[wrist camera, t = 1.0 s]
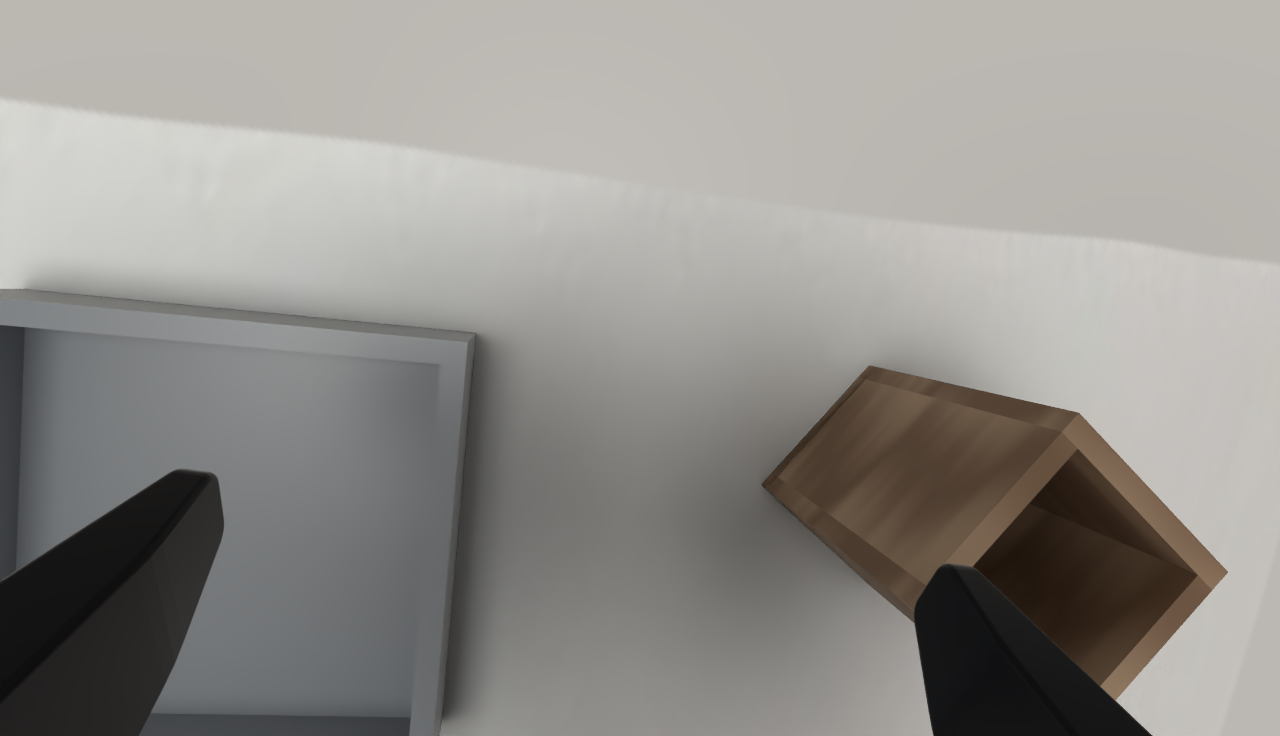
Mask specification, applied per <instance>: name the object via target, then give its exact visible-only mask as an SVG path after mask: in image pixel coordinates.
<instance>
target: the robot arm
mask: <svg viewBox="0 0 1280 736" xmlns="http://www.w3.org/2000/svg"><path fill="white" fill-rule="evenodd" d="M223 531H224V516H223V508H222V501H221V494H220V487H219V481H218V478H217V476H216V475H215V474H214V473H211V472H207V471H199V470H191V469H176V470H174V471H171V472H169V473H168V474H166V475H165V476H163V477H162V478H160V479H158V480H157V481H155V482H154V483H152V484H151V485H149V486H148V487H146V488H144V489H143V490H141V491H140V492H138V493H137V494H135V495H134V496H132V497H130V498H129V499H127V500H126V501H124V502H123V503H121V504H120V505H118V506H116V507H115V508H113V509H112V510H110V511H109V512H107V513H106V514H104V515H102V516H101V517H99V518H98V519H96V520H95V521H93V522H92V523H90V524H88V525H87V526H85V527H84V528H82V529H81V530H79V531H78V532H76V533H74V534H73V535H71V536H70V537H68V538H67V539H65V540H64V541H62V542H60V543H59V544H57V545H56V546H54V547H53V548H51V549H50V550H48V551H46V552H45V553H43V554H42V555H40V556H39V557H37V558H36V559H34V560H32V561H31V562H29V563H28V564H26V565H25V566H23V567H22V568H20V569H18V570H17V571H15V572H14V573H12V574H11V575H9V576H8V577H6V578H4V579H3V580H1V581H0V736H139V735H140V733H141V731H142V729H143V727H144V725H145V723H146V721H147V719H148V717H149V715H150V713H151V711H152V709H153V707H154V705H155V703H156V702H157V700H158V698H159V696H160V694H161V692H162V690H163V688H164V686H165V684H166V682H167V680H168V677H169V675H170V673H171V671H172V669H173V667H174V665H175V663H176V660H177V658H178V655H179V653H180V650H181V648H182V645H183V643H184V640H185V637H186V634H187V632H188V629H189V626H190V624H191V621H192V618H193V616H194V613H195V610H196V608H197V605H198V602H199V600H200V597H201V594H202V592H203V589H204V586H205V583H206V581H207V578H208V575H209V573H210V570H211V567H212V565H213V562H214V559H215V557H216V554H217V551H218V549H219V546H220V543H221V540H222V536H223ZM914 622H915V629H916V635H917V641H918V647H919V654H920V660H921V666H922V672H923V678H924V685H925V691H926V697H927V703H928V710H929V715H930V721H931V726H932V731H933V735H934V736H1152V735H1151V734H1150V733H1149V732H1148V731H1147V730H1146V729H1145V728H1144V727H1143V726H1141V725H1140V724H1139V723H1138V722H1137V721H1136V720H1135V719H1134V718H1133V717H1132V716H1131V715H1130V714H1129V713H1128V712H1127V711H1126V710H1125V709H1124V708H1123V707H1122V706H1120V705H1119V704H1118V703H1117V702H1116V701H1115V700H1114V699H1113V698H1112V697H1111V696H1110V695H1109V694H1108V693H1107V692H1106V691H1105V690H1104V689H1103V688H1102V687H1100V686H1099V685H1098V684H1097V683H1096V682H1095V681H1094V680H1093V679H1092V678H1091V677H1090V676H1089V675H1088V674H1087V673H1086V672H1085V671H1084V670H1083V669H1082V668H1080V667H1079V666H1078V665H1077V664H1076V663H1075V662H1074V661H1073V660H1072V659H1071V658H1070V657H1069V656H1068V655H1067V654H1066V653H1065V652H1064V651H1063V650H1062V649H1061V648H1059V647H1058V646H1057V645H1056V644H1055V643H1054V642H1053V641H1052V640H1051V639H1050V638H1049V637H1048V636H1047V635H1046V634H1045V633H1044V632H1043V631H1042V630H1041V629H1039V628H1038V627H1037V626H1036V625H1035V624H1034V623H1033V622H1032V621H1031V620H1030V619H1029V618H1028V617H1027V616H1026V615H1025V614H1024V613H1023V612H1022V611H1021V610H1020V609H1018V608H1017V607H1016V606H1015V605H1014V604H1013V603H1012V602H1011V601H1010V600H1009V599H1008V598H1007V597H1006V596H1005V595H1004V594H1003V593H1002V592H1001V591H1000V590H998V589H997V588H996V587H995V586H994V585H993V584H992V583H991V582H990V581H989V580H988V579H987V578H986V577H985V576H984V575H983V574H982V573H981V572H979V571H978V570H977V569H975V568H974V567H971V566H966V565H958V564H950V563H946V564H943V565H941V566H940V567H938V569H937V570H936V571H935V573H934V575H933V576H932V578H931V579H930V581H929V582H928V584H927V585H926V587H925V589H924V590H923V592H922V593H921V595H920V596H919V598H918V600H917V602H916V605H915V609H914Z"/></svg>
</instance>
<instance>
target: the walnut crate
mask: <svg viewBox="0 0 1280 736" xmlns="http://www.w3.org/2000/svg"><path fill="white" fill-rule="evenodd" d="M762 486H763V487H764V488H765V489H766V490H768V491H769V492H770V493H771V494H772V495H773V496H774V497H775V498H776V499H777V500H778V501H779V502H781V503H782V504H783V505H784V506H785V507H786V508H787V509H788V510H789V511H790V512H791V513H792V514H793V515H795V516H796V517H797V518H798V519H799V520H800V521H801V522H802V523H803V524H804V525H805V526H806V527H807V528H809V529H810V530H811V531H812V532H813V533H814V534H815V535H816V536H817V537H818V538H819V539H820V540H822V541H823V542H824V543H825V544H826V545H827V546H828V547H829V548H830V549H831V550H832V551H833V552H834V553H836V554H837V555H838V556H839V557H840V558H841V559H842V560H843V561H844V562H845V563H846V564H847V565H848V566H850V567H851V568H852V569H853V570H854V571H855V572H856V573H857V574H858V575H859V576H860V577H861V578H862V579H864V580H865V581H866V582H867V583H868V584H869V585H870V586H871V587H872V588H874V589H875V590H876V591H877V592H878V593H880V594H881V595H882V596H883V597H884V598H885V599H887V600H888V601H889V602H890V603H891V604H893V605H894V606H895V607H896V608H897V609H898V610H900V611H901V612H902V613H903V614H904V615H905V616H907V617H908V618H909V619H910V620H911V621H913V622H914V609H915V605H916V602H917V600H918V598H919V596H920V595H921V593H922V592H923V590H924V589H925V587H926V585H927V584H928V582H929V581H930V579H931V578H932V576H933V575H934V573H935V571H936V570H937V569H938V567H940V566H941V565H943V564H946V563H950V564H958V565H966V566H971V567H974V568H975V569H977V570H978V571H979V572H981V573H982V574H983V575H984V576H985V577H986V578H987V579H988V580H989V581H990V582H991V583H992V584H993V585H994V586H995V587H996V588H997V589H998V590H1000V591H1001V592H1002V593H1003V594H1004V595H1005V596H1006V597H1007V598H1008V599H1009V600H1010V601H1011V602H1012V603H1013V604H1014V605H1015V606H1016V607H1017V608H1018V609H1020V610H1021V611H1022V612H1023V613H1024V614H1025V615H1026V616H1027V617H1028V618H1029V619H1030V620H1031V621H1032V622H1033V623H1034V624H1035V625H1036V626H1037V627H1038V628H1039V629H1041V630H1042V631H1043V632H1044V633H1045V634H1046V635H1047V636H1048V637H1049V638H1050V639H1051V640H1052V641H1053V642H1054V643H1055V644H1056V645H1057V646H1058V647H1059V648H1061V649H1062V650H1063V651H1064V652H1065V653H1066V654H1067V655H1068V656H1069V657H1070V658H1071V659H1072V660H1073V661H1074V662H1075V663H1076V664H1077V665H1078V666H1079V667H1080V668H1082V669H1083V670H1084V671H1085V672H1086V673H1087V674H1088V675H1089V676H1090V677H1091V678H1092V679H1093V680H1094V681H1095V682H1096V683H1097V684H1098V685H1099V686H1100V687H1102V688H1103V689H1104V690H1105V691H1106V692H1107V693H1108V694H1109V695H1110V696H1111V697H1112V698H1113V699H1114V700H1116V699H1117V698H1118V697H1119V696H1120V695H1121V693H1122V692H1123V691H1124V690H1125V689H1126V688H1127V687H1128V685H1129V684H1130V683H1131V682H1132V681H1133V680H1134V679H1135V678H1136V676H1137V675H1138V674H1139V673H1140V672H1141V671H1142V670H1143V668H1144V667H1145V666H1146V665H1147V664H1148V663H1149V662H1150V660H1151V659H1152V658H1153V657H1154V656H1155V655H1156V654H1157V652H1158V651H1159V650H1160V649H1161V648H1162V647H1163V646H1164V645H1165V643H1166V642H1167V641H1168V640H1169V639H1170V638H1171V637H1172V635H1173V634H1174V633H1175V632H1176V631H1177V630H1178V629H1179V627H1180V626H1181V625H1182V624H1183V623H1184V622H1185V621H1186V620H1187V618H1188V617H1189V616H1190V615H1191V614H1192V613H1193V612H1194V610H1195V609H1196V608H1197V607H1198V606H1199V605H1200V604H1201V602H1202V601H1203V600H1204V599H1205V598H1206V597H1207V596H1208V594H1209V593H1210V592H1211V591H1212V590H1213V589H1214V588H1215V587H1216V585H1217V584H1218V583H1219V582H1220V581H1221V580H1222V579H1223V577H1224V576H1225V575H1226V574H1227V573H1228V571H1227V570H1226V569H1225V568H1224V567H1223V566H1222V565H1221V564H1220V563H1219V562H1218V561H1217V560H1216V559H1215V558H1214V557H1213V555H1212V554H1211V553H1210V552H1209V551H1208V550H1207V549H1206V548H1205V547H1204V546H1203V545H1202V544H1201V543H1200V542H1199V541H1198V539H1197V538H1196V537H1195V536H1194V535H1193V534H1192V533H1191V532H1190V531H1189V530H1188V529H1187V528H1186V527H1185V526H1184V525H1183V523H1182V522H1181V521H1180V520H1179V519H1178V518H1177V517H1176V516H1175V515H1174V514H1173V513H1172V512H1171V511H1170V510H1169V508H1168V507H1167V506H1166V505H1165V504H1164V503H1163V502H1162V501H1161V500H1160V499H1159V498H1158V497H1157V496H1156V495H1155V494H1154V492H1153V491H1152V490H1151V489H1150V488H1149V487H1148V486H1147V485H1146V484H1145V483H1144V482H1143V481H1142V480H1141V479H1140V478H1139V476H1138V475H1137V474H1136V473H1135V472H1134V471H1133V470H1132V469H1131V468H1130V467H1129V466H1128V465H1127V464H1126V463H1125V462H1124V460H1123V459H1122V458H1121V457H1120V456H1119V455H1118V454H1117V453H1116V452H1115V451H1114V450H1113V449H1112V448H1111V447H1110V445H1109V444H1108V443H1107V442H1106V441H1105V440H1104V439H1103V438H1102V437H1101V436H1100V435H1099V434H1098V433H1097V432H1096V431H1095V429H1094V428H1093V427H1092V426H1091V425H1090V424H1089V423H1088V422H1087V421H1086V420H1085V419H1084V418H1083V417H1082V416H1081V415H1080V413H1077V412H1073V411H1068V410H1064V409H1059V408H1055V407H1051V406H1046V405H1042V404H1037V403H1033V402H1028V401H1024V400H1020V399H1015V398H1011V397H1006V396H1002V395H997V394H993V393H988V392H984V391H980V390H975V389H971V388H966V387H962V386H957V385H953V384H949V383H944V382H940V381H935V380H931V379H926V378H922V377H918V376H913V375H909V374H904V373H900V372H895V371H891V370H887V369H882V368H878V367H873V366H869V367H868V368H867V369H866V370H865V371H864V372H863V373H862V374H861V375H860V377H859V378H858V379H857V380H856V381H855V382H854V383H853V384H852V385H851V387H850V388H849V389H848V390H847V391H846V392H845V393H844V394H843V395H842V396H841V398H840V399H839V400H838V401H837V402H836V403H835V404H834V405H833V406H832V407H831V409H830V410H829V411H828V412H827V413H826V414H825V415H824V416H823V417H822V418H821V420H820V421H819V422H818V423H817V424H816V425H815V426H814V427H813V428H812V430H811V431H810V432H809V433H808V434H807V435H806V436H805V437H804V438H803V439H802V441H801V442H800V443H799V444H798V445H797V446H796V447H795V448H794V449H793V450H792V452H791V453H790V454H789V455H788V456H787V457H786V458H785V459H784V460H783V462H782V463H781V464H780V465H779V466H778V467H777V468H776V469H775V470H774V471H773V473H772V474H771V475H770V476H769V477H768V478H767V479H766V480H765V481H764V482H763V484H762ZM914 623H915V622H914Z"/></svg>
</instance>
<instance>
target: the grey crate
mask: <svg viewBox="0 0 1280 736" xmlns="http://www.w3.org/2000/svg"><path fill="white" fill-rule="evenodd" d="M475 339H476V333H471V332H461V331H450V330H440V329H430V328H419V327H409V326H399V325H388V324H378V323H368V322H357V321H347V320H337V319H326V318H316V317H306V316H295V315H285V314H275V313H264V312H254V311H243V310H233V309H223V308H212V307H202V306H192V305H181V304H171V303H161V302H150V301H140V300H130V299H119V298H109V297H99V296H88V295H78V294H68V293H57V292H47V291H37V290H26V289H0V581H1V580H3V579H4V578H6V577H8V576H9V575H11V574H12V573H14V572H15V571H17V570H18V569H20V568H22V567H23V566H25V565H26V564H28V563H29V562H31V561H32V560H34V559H36V558H37V557H39V556H40V555H42V554H43V553H45V552H46V551H48V550H50V549H51V548H53V547H54V546H56V545H57V544H59V543H60V542H62V541H64V540H65V539H67V538H68V537H70V536H71V535H73V534H74V533H76V532H78V531H79V530H81V529H82V528H84V527H85V526H87V525H88V524H90V523H92V522H93V521H95V520H96V519H98V518H99V517H101V516H102V515H104V514H106V513H107V512H109V511H110V510H112V509H113V508H115V507H116V506H118V505H120V504H121V503H123V502H124V501H126V500H127V499H129V498H130V497H132V496H134V495H135V494H137V493H138V492H140V491H141V490H143V489H144V488H146V487H148V486H149V485H151V484H152V483H154V482H155V481H157V480H158V479H160V478H162V477H163V476H165V475H166V474H168V473H169V472H171V471H174V470H176V469H191V470H199V471H207V472H211V473H214V474H215V475H216V476H217V478H218V481H219V487H220V494H221V501H222V508H223V516H224V531H223V536H222V540H221V543H220V546H219V549H218V551H217V554H216V557H215V559H214V562H213V565H212V567H211V570H210V573H209V575H208V578H207V581H206V583H205V586H204V589H203V592H202V594H201V597H200V600H199V602H198V605H197V608H196V610H195V613H194V616H193V618H192V621H191V624H190V626H189V629H188V632H187V634H186V637H185V640H184V643H183V645H182V648H181V650H180V653H179V655H178V658H177V660H176V663H175V665H174V667H173V669H172V671H171V673H170V675H169V677H168V680H167V682H166V684H165V686H164V688H163V690H162V692H161V694H160V696H159V698H158V700H157V702H156V703H155V705H154V707H153V709H152V711H151V713H150V715H149V717H148V719H147V721H146V723H145V725H144V727H143V729H142V731H141V733H140V735H139V736H439V734H440V728H441V723H442V713H443V701H444V690H445V679H446V667H447V656H448V645H449V633H450V622H451V611H452V599H453V588H454V577H455V566H456V554H457V543H458V532H459V520H460V509H461V498H462V486H463V475H464V464H465V452H466V441H467V430H468V418H469V407H470V396H471V385H472V373H473V362H474V351H475Z"/></svg>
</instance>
